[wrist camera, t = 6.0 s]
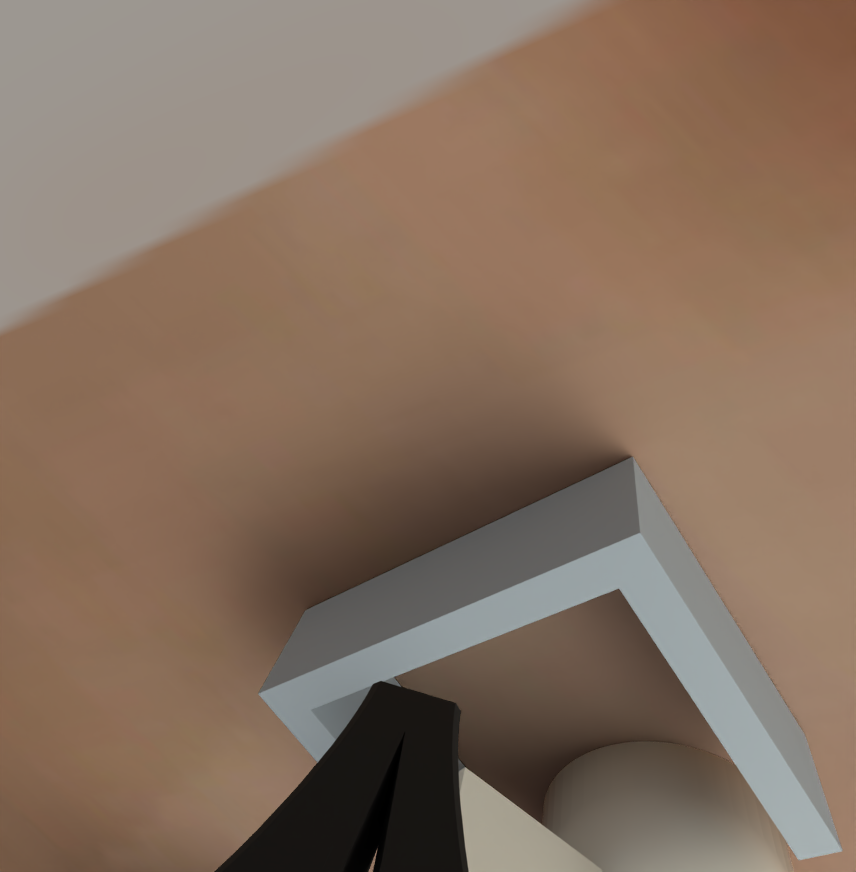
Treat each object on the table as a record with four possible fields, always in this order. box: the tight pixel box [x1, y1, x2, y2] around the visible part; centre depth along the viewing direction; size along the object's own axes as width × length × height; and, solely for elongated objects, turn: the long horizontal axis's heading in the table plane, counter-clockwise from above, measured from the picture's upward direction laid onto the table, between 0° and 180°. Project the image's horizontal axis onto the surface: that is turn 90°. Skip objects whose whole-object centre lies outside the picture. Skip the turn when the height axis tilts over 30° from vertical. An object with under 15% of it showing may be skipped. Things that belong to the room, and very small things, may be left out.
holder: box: [258, 457, 842, 860], centre depth 19 cm, size 11×10×3 cm
